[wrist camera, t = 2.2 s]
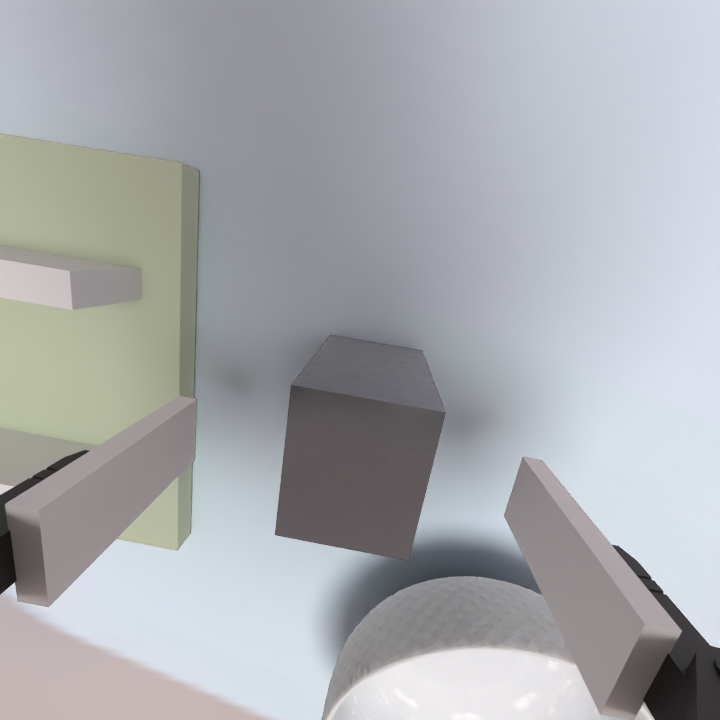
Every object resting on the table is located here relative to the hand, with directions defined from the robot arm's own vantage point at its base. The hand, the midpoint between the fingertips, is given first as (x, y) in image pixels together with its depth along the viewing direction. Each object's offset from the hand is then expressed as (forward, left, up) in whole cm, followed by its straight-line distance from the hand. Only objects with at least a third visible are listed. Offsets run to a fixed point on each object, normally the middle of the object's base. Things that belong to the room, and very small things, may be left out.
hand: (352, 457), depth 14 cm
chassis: (+1, -18, -6) cm, 19 cm away
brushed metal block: (0, 0, -6) cm, 6 cm away
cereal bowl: (+16, +9, -6) cm, 19 cm away
